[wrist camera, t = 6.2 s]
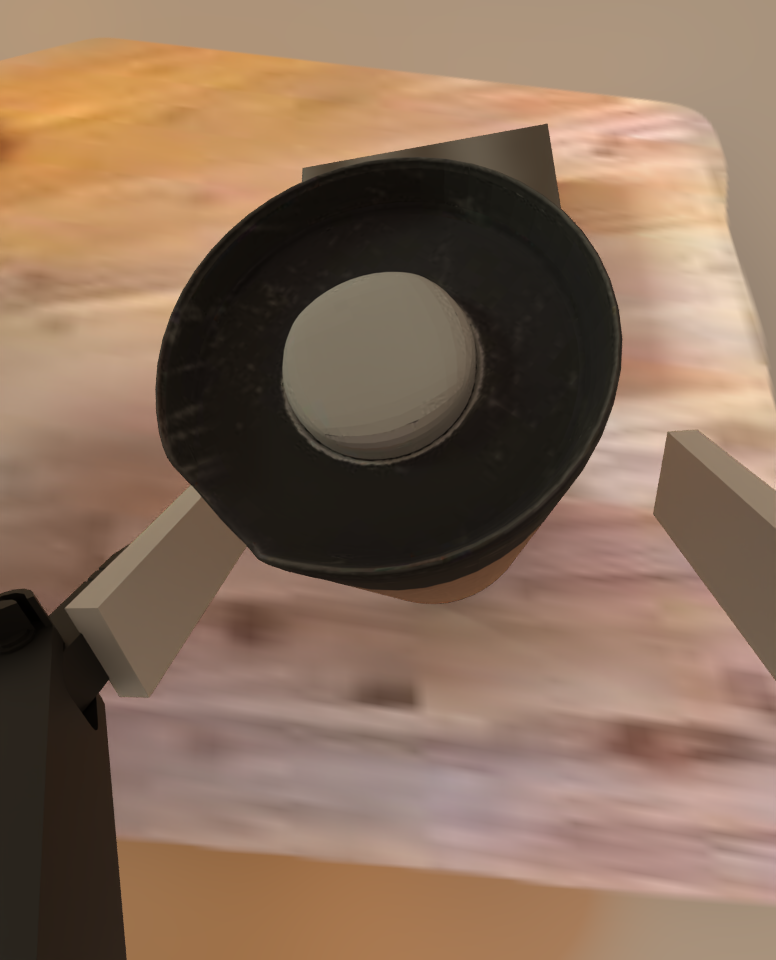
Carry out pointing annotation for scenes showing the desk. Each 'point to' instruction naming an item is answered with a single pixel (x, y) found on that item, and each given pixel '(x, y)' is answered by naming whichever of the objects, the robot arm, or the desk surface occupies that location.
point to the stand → (485, 157)
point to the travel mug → (392, 374)
